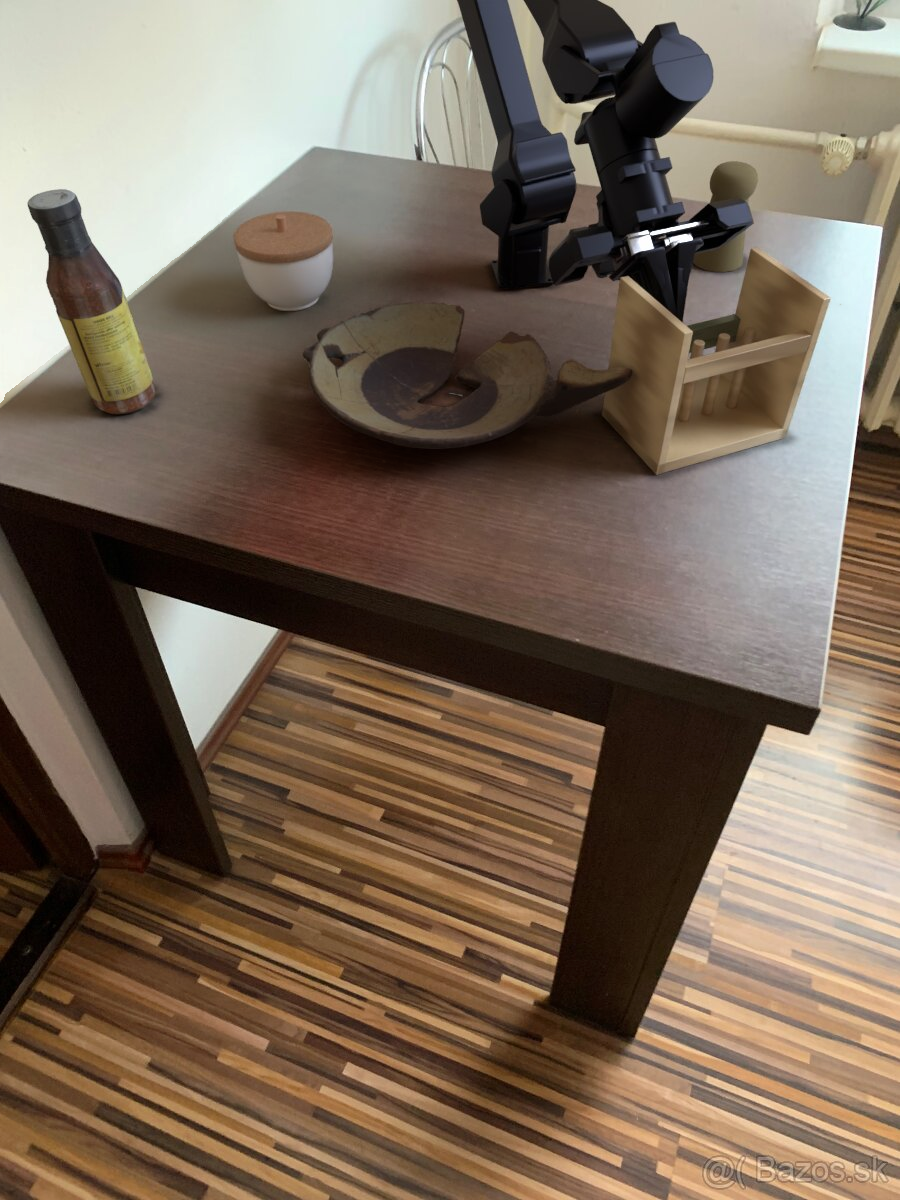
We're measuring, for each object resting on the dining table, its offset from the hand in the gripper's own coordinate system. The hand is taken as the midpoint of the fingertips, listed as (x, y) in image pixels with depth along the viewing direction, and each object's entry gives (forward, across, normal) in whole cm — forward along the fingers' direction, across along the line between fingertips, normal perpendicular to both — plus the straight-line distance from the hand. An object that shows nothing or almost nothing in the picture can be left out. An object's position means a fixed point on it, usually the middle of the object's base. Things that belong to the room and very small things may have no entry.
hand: (675, 331), depth 82 cm
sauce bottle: (-10, +49, -20) cm, 54 cm away
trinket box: (-20, +28, -29) cm, 45 cm away
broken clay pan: (+1, +20, -9) cm, 22 cm away
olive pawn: (-11, -21, -21) cm, 32 cm away
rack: (+9, 0, -2) cm, 9 cm away
